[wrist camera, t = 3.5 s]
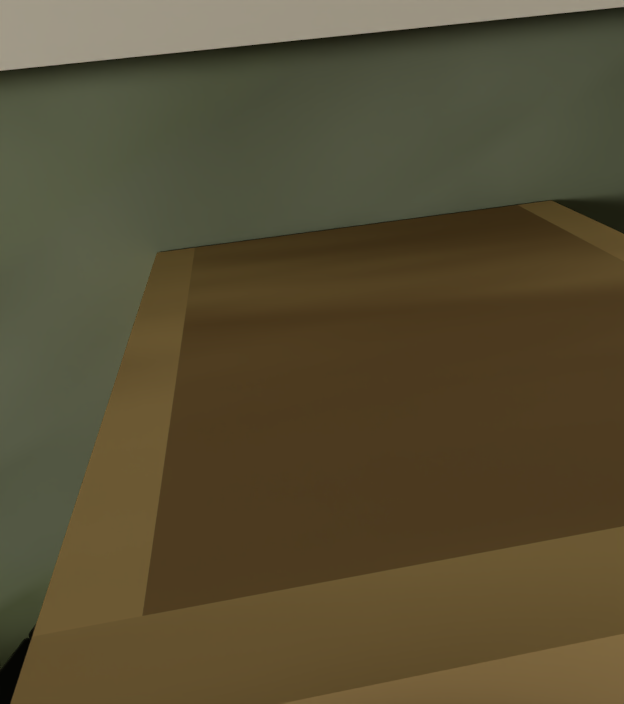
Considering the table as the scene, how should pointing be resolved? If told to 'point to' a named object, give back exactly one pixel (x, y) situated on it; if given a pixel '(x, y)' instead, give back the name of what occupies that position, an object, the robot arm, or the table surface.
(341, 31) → the base board
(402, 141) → the table surface
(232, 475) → the taped shipping carton
